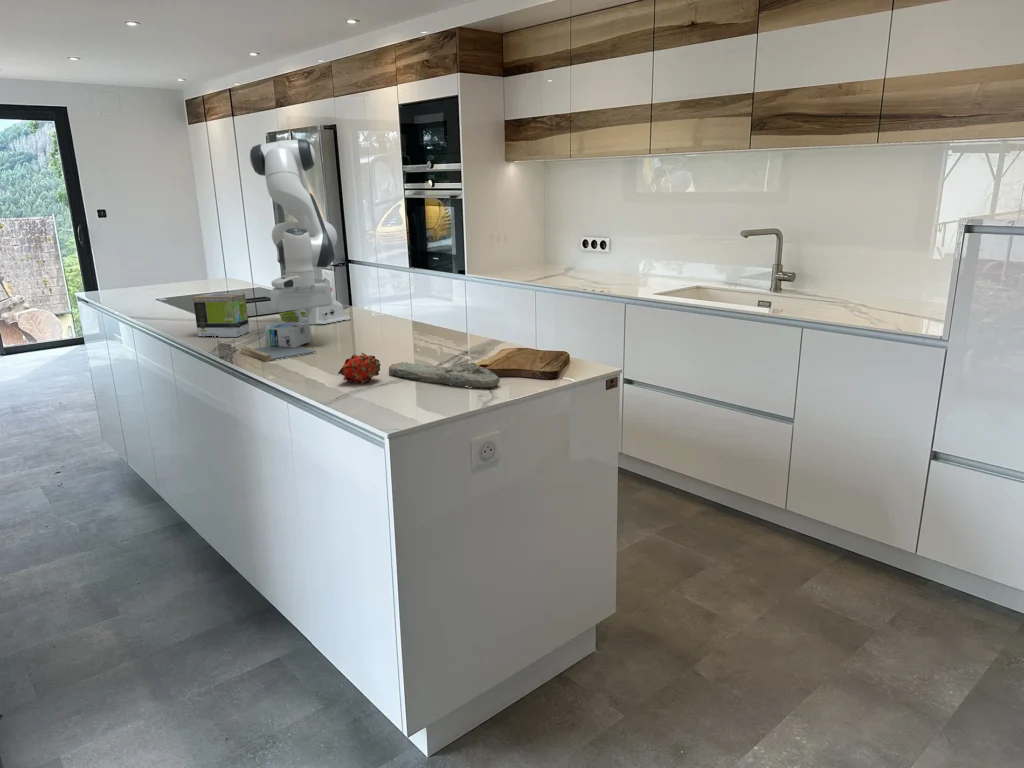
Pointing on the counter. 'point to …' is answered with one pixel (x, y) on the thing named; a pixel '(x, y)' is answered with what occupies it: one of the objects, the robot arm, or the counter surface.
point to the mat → (284, 351)
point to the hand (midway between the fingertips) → (304, 322)
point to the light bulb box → (287, 334)
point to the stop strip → (256, 353)
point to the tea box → (221, 314)
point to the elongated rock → (447, 374)
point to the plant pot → (291, 316)
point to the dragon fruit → (360, 368)
